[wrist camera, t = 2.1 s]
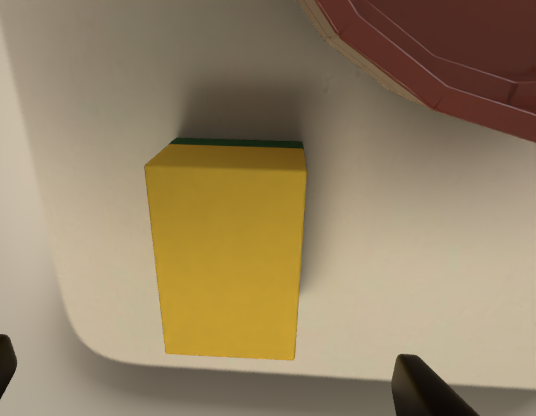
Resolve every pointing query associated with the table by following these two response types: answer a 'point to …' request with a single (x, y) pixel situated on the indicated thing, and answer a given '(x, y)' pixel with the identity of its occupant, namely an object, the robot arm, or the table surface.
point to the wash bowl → (443, 54)
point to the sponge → (228, 245)
